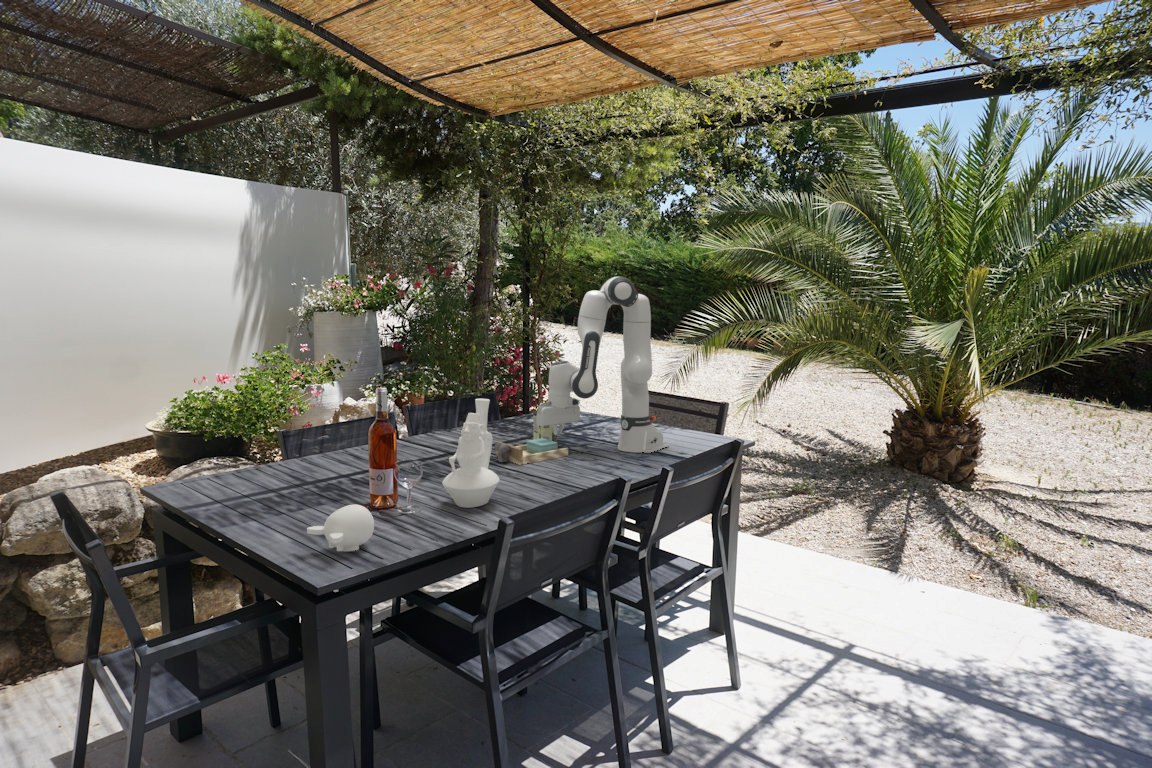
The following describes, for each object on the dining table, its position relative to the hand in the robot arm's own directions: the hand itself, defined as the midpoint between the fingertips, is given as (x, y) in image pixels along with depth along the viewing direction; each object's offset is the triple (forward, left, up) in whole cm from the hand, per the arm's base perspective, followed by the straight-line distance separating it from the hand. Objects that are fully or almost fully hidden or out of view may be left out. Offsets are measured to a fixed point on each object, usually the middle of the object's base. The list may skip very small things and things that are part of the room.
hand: (557, 434), depth 292 cm
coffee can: (-4, -14, -7) cm, 16 cm away
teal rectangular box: (+8, 0, -6) cm, 10 cm away
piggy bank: (+109, +49, -7) cm, 120 cm away
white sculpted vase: (+61, +36, -7) cm, 72 cm away
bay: (+16, 0, -7) cm, 17 cm away
